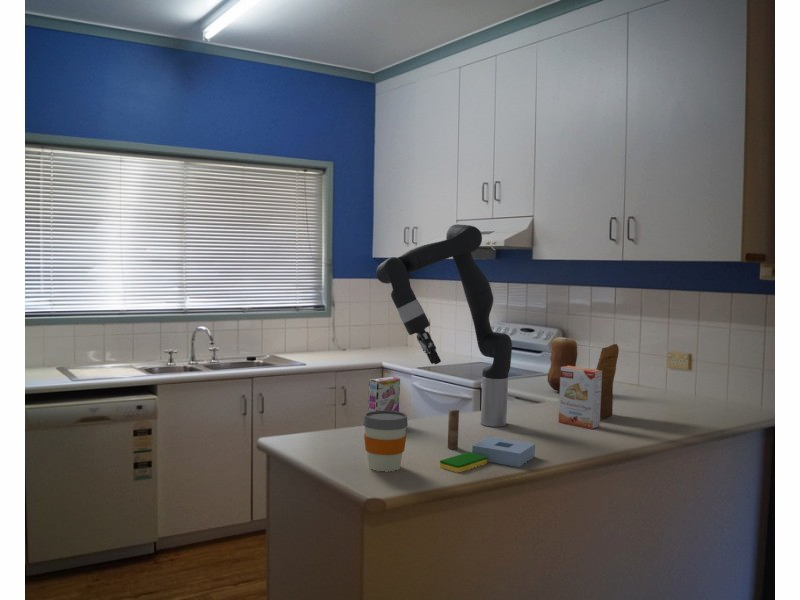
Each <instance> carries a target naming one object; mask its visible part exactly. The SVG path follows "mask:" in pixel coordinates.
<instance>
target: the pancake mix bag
mask: <svg viewBox="0 0 800 600" xmlns="http://www.w3.org/2000/svg"><path fill="white" fill-rule="evenodd" d="M619 349H620V348H619V345H618V344H617V343H614V344H611V345H609V346H606V347H603V348H601V351H600V355H599V357H598V363H597V365H596V369H595V370H601V371H602V387H601V409H600V421H602V420H605V419H607V418H610V417H613V403H614V401H613V400H614V398H613V397H614V393H613V392H614V381H615V377H616V376H615V375H616V371H617V363H618V358H619V351H620V350H619Z"/></svg>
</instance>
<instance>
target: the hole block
mask: <svg viewBox="0 0 800 600" xmlns="http://www.w3.org/2000/svg"><path fill="white" fill-rule="evenodd" d="M471 453H475V454H478V455H482V456H486V457H487V463H494V464H499V465H506V466H511V467H517V468H520V467H522V466H523V465H525V464H526V463H528V462H529V461H531V460H532V459H534V458H535V455H536V443H532V442H525V441H518V440H513V439H508V438H500V437H494V436H488V437H486V438H484V439H482V440H480V441H478V442H476V443H474V444H473V445H472V447H471ZM533 457H534V458H533ZM530 459H531V460H530ZM527 461H528V462H527ZM524 463H525V464H524Z"/></svg>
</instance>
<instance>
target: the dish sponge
mask: <svg viewBox="0 0 800 600" xmlns="http://www.w3.org/2000/svg"><path fill="white" fill-rule="evenodd" d="M487 464H488V461H487V457H486V456H482V455H478V454H475V453H472V451H471V452H470V451H467V452H464V453H461V454H457V455H454V456H450V457H448V458H444V459H440V460H439V468H441V469H444V470H447V471H451V472H453V473H456V474H457V473H458V472H460V473H462V471H463V472H465V470H466V471H468V470H471V468H472V469H475V468H477V466H478V467H481V466H484V465H487ZM480 465H481V466H480ZM474 467H475V468H474Z"/></svg>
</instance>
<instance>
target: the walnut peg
mask: <svg viewBox="0 0 800 600" xmlns="http://www.w3.org/2000/svg"><path fill="white" fill-rule="evenodd" d="M459 419H460V410H459V409H448V422H447V423H448V425H447V449H448V448H449V449H448V450H458V449H457V448H459V422H460V421H459Z"/></svg>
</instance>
